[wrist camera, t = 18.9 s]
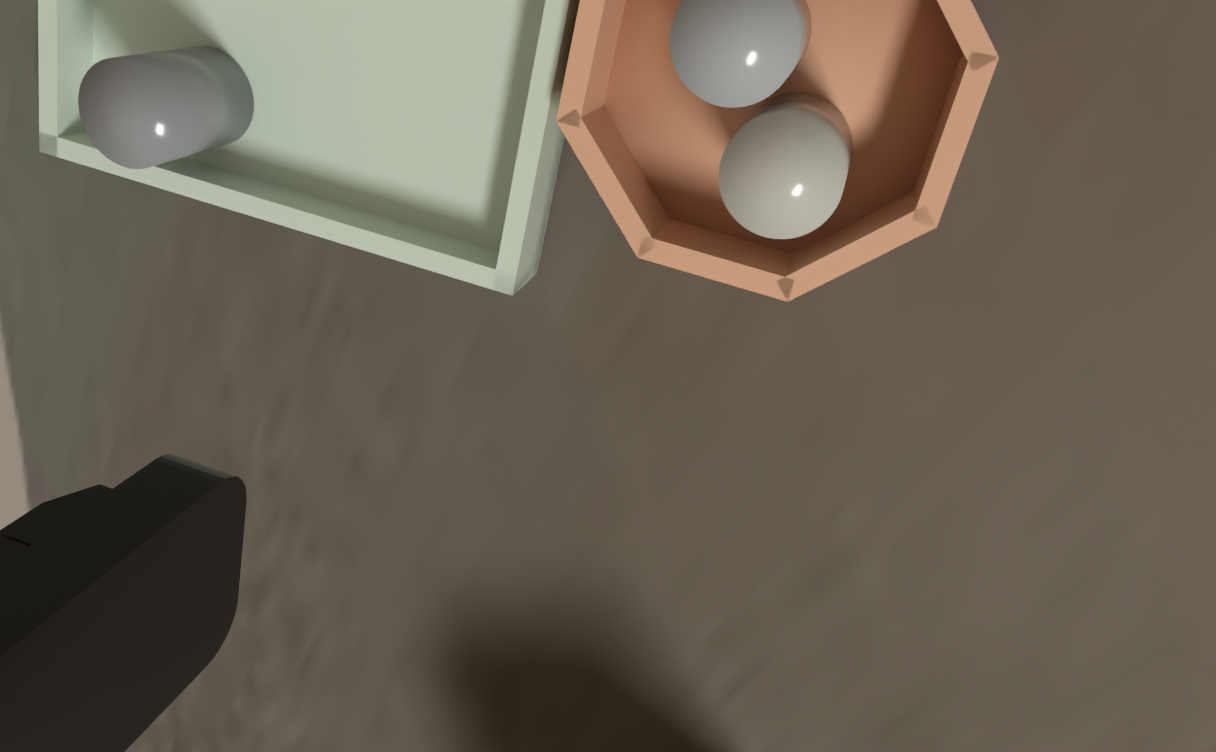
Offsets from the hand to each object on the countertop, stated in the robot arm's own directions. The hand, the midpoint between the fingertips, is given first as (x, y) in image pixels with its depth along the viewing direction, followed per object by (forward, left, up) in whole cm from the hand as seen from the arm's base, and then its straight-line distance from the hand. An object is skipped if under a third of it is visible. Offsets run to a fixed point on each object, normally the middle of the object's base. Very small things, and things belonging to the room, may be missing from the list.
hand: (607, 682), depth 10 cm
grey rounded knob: (+4, -23, -29) cm, 37 cm away
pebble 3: (0, -1, -29) cm, 29 cm away
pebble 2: (-4, -3, -29) cm, 29 cm away
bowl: (-2, -2, -30) cm, 30 cm away
